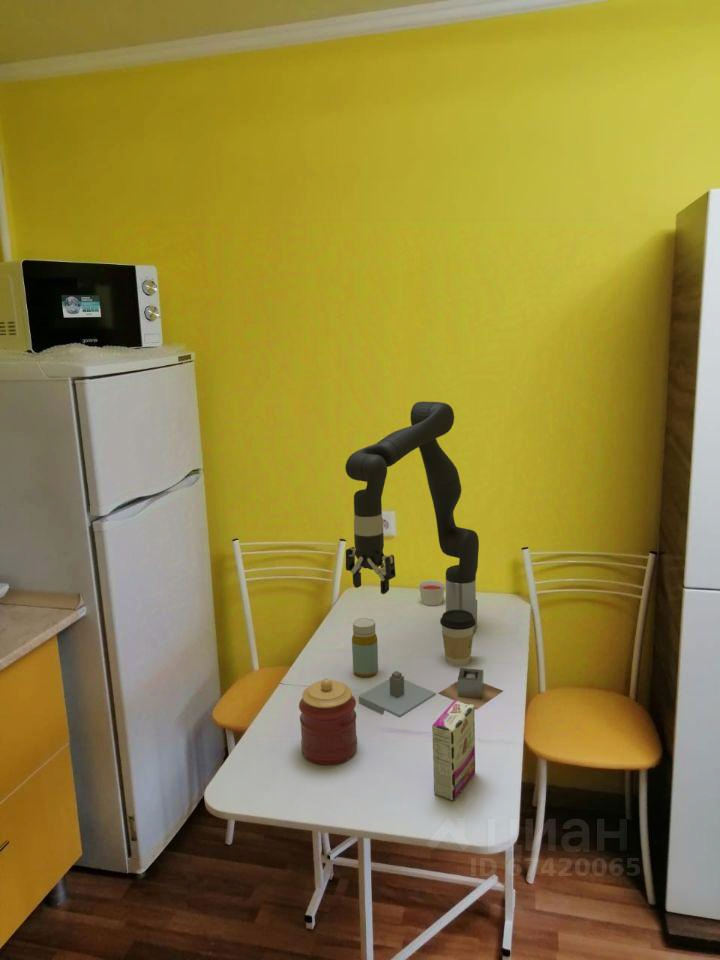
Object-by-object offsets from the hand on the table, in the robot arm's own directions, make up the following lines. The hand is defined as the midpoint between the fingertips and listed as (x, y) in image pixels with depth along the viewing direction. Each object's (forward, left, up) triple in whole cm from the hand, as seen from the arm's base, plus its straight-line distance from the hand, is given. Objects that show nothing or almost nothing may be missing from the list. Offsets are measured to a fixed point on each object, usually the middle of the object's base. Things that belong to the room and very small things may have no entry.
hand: (370, 589), depth 188 cm
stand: (-12, +23, -28) cm, 38 cm away
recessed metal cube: (-12, +23, -26) cm, 37 cm away
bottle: (-4, -7, -28) cm, 29 cm away
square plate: (+2, +10, -28) cm, 29 cm away
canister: (+28, +12, -28) cm, 41 cm away
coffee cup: (-24, +10, -28) cm, 38 cm away
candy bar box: (+19, +41, -28) cm, 53 cm away
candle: (-55, -24, -28) cm, 66 cm away
